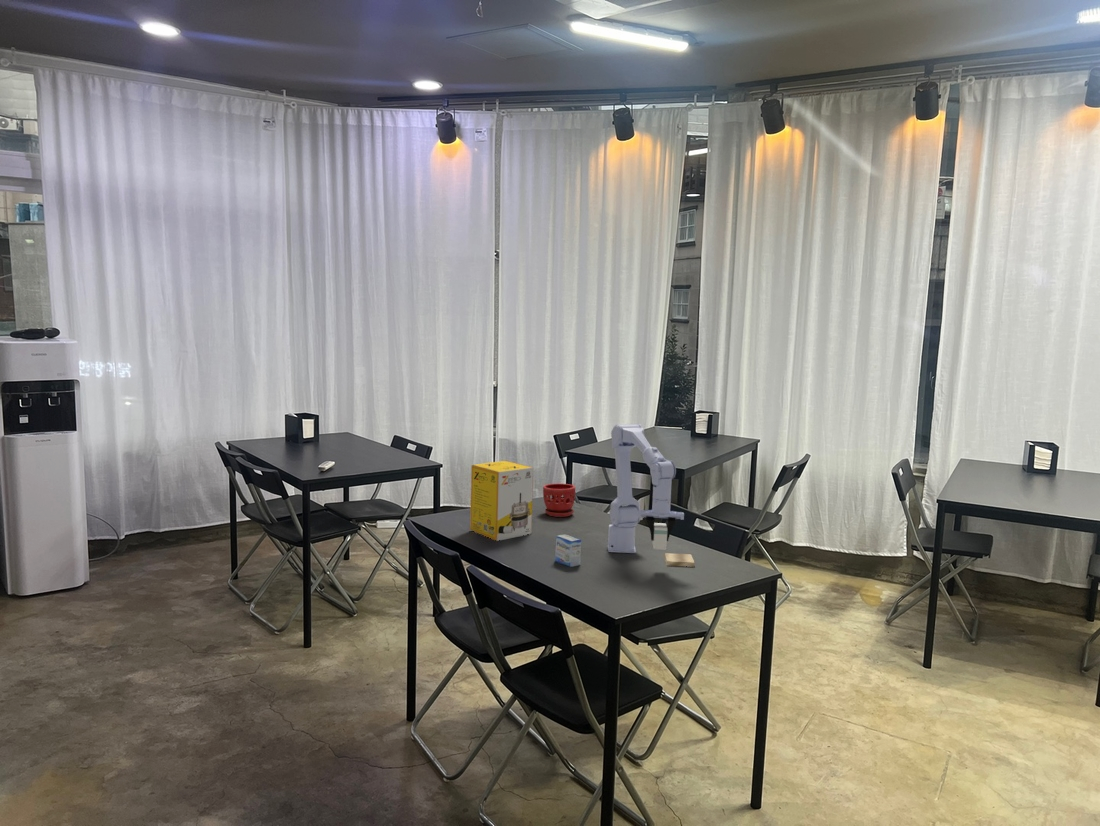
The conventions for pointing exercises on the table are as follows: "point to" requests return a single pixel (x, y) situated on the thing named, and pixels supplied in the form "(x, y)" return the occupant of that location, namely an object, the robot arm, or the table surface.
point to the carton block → (660, 536)
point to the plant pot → (559, 499)
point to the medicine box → (568, 550)
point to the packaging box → (501, 499)
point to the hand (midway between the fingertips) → (659, 540)
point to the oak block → (679, 560)
